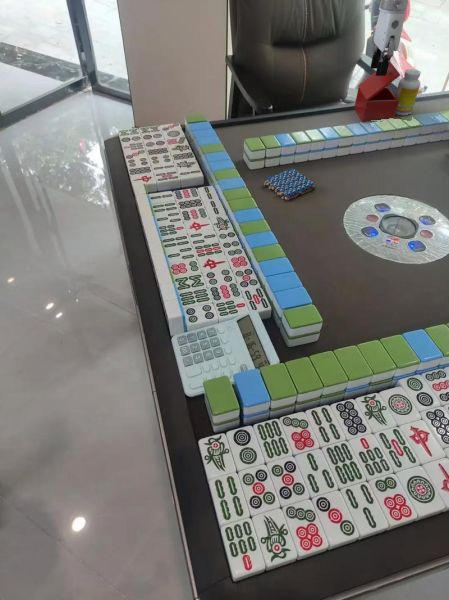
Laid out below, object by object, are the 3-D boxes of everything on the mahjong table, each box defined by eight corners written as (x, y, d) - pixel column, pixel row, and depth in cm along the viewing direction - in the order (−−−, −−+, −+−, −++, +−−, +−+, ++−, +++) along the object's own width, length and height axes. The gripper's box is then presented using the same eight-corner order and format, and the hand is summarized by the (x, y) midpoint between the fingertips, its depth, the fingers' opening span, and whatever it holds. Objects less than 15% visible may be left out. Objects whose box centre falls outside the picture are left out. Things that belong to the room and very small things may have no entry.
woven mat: (291, 172, 122) (292, 165, 121) (316, 189, 116) (317, 183, 115) (262, 184, 118) (262, 177, 117) (286, 203, 112) (287, 196, 111)
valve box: (383, 106, 149) (389, 86, 144) (393, 121, 142) (399, 100, 137) (354, 107, 148) (358, 87, 143) (362, 122, 142) (366, 101, 137)
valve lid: (390, 62, 138) (382, 48, 135) (400, 75, 131) (392, 61, 128) (359, 87, 143) (350, 75, 140) (367, 101, 136) (359, 88, 133)
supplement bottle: (415, 114, 145) (428, 74, 135) (397, 117, 144) (409, 76, 134) (404, 106, 149) (416, 66, 139) (387, 108, 148) (398, 68, 138)
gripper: (417, 11, 116) (398, 82, 129) (397, -6, 127) (381, 61, 141) (389, 12, 116) (373, 83, 129) (372, -5, 127) (359, 62, 141)
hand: (378, 71), depth 135 cm, fingers closed on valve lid, 5 cm apart
